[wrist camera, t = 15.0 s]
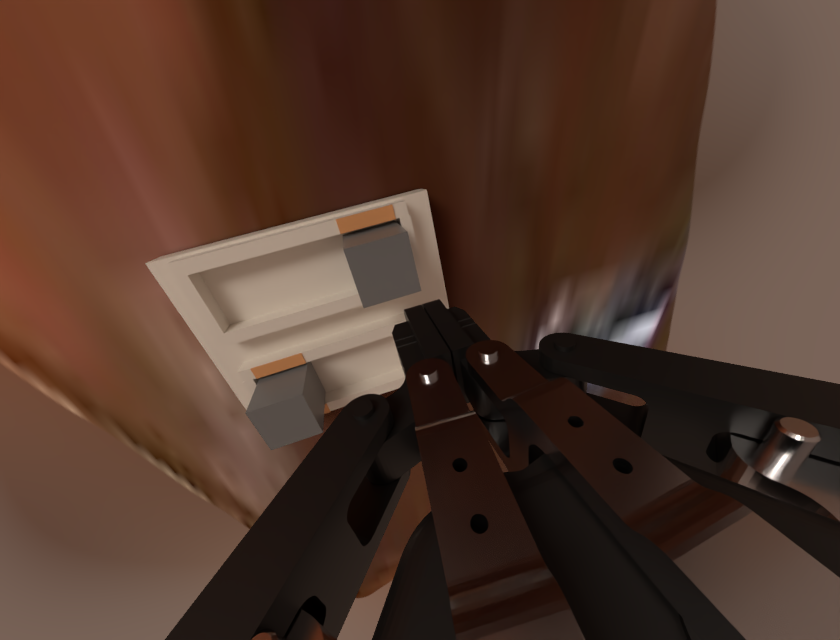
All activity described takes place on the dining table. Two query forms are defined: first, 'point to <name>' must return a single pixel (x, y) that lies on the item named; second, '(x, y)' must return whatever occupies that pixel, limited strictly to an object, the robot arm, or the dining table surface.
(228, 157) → the dining table surface
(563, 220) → the dining table surface
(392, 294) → the tab
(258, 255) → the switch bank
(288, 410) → the tab
